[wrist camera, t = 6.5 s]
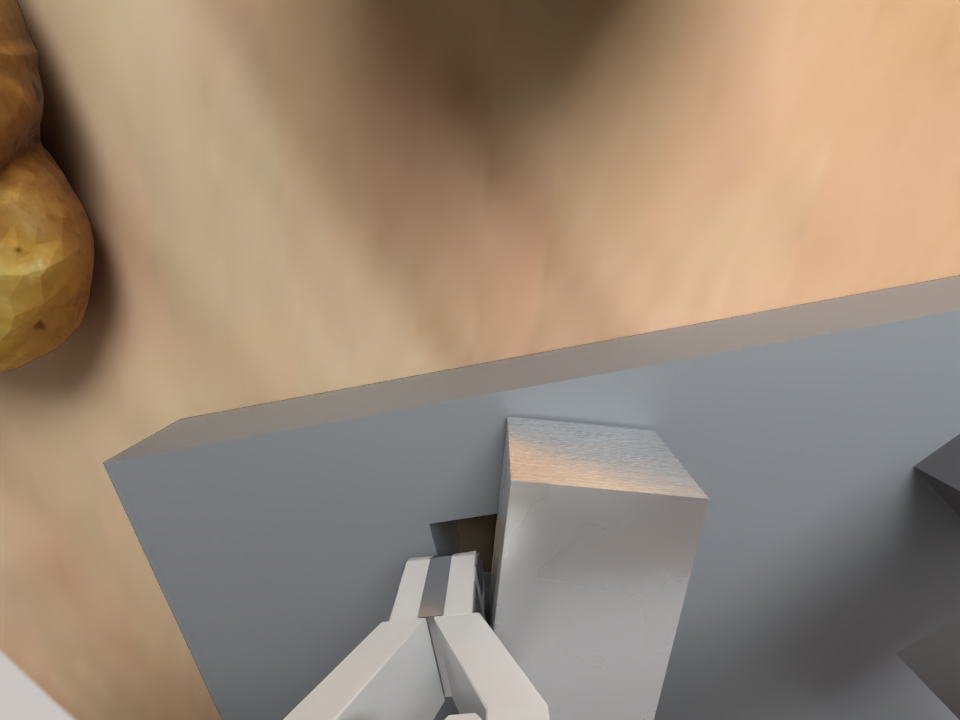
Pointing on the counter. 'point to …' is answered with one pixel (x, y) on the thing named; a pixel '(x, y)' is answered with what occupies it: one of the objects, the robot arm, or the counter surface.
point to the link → (592, 563)
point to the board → (610, 402)
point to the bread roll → (35, 215)
